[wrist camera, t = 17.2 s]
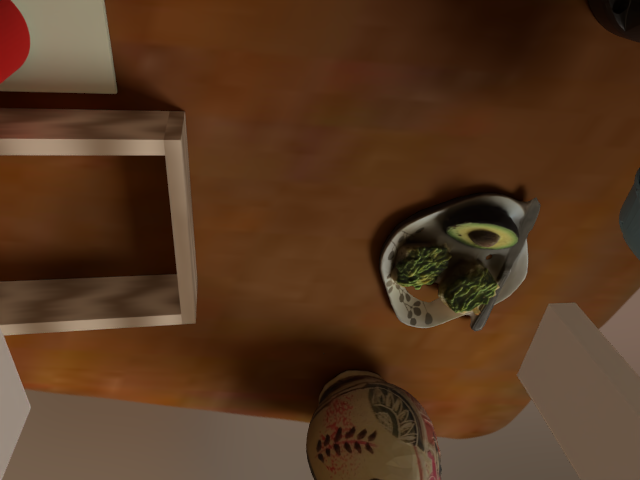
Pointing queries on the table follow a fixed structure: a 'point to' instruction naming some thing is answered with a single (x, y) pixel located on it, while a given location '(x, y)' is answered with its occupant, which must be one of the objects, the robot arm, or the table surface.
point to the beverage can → (12, 39)
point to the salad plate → (458, 258)
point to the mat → (65, 48)
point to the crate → (105, 292)
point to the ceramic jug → (370, 432)
